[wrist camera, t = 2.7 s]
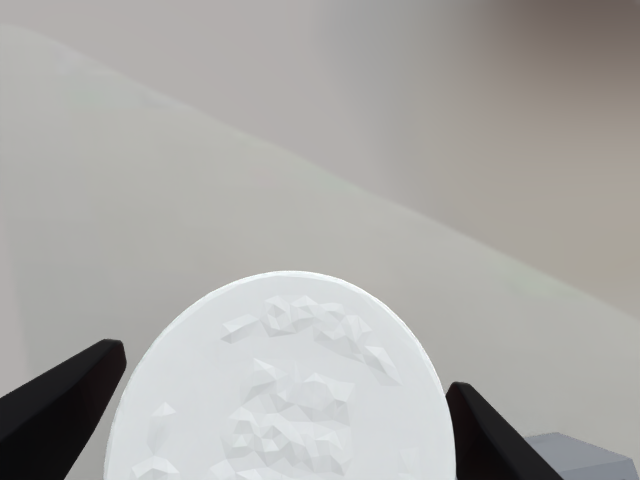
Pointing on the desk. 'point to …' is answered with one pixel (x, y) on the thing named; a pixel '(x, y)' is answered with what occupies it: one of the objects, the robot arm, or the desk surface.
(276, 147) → the desk surface
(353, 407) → the pill bottle
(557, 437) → the slate tray
